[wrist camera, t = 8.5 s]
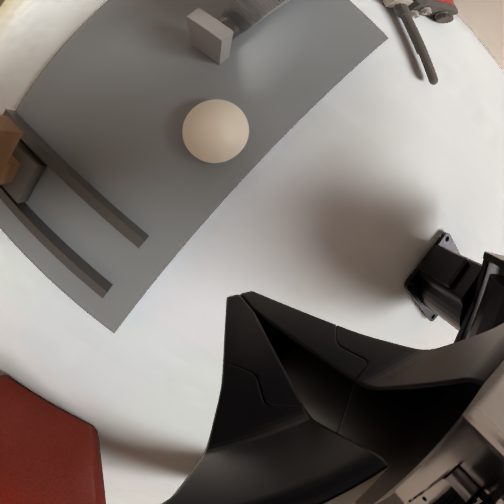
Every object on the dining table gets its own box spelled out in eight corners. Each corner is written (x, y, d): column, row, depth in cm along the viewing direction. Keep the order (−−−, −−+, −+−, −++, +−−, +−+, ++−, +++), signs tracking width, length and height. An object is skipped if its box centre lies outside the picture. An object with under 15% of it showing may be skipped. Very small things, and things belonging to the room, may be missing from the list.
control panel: (375, 46, 16) (416, 21, 11) (121, 319, 20) (98, 363, 14) (227, -62, 12) (233, -102, 6) (-11, 192, 15) (-55, 203, 10)
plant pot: (135, 424, 23) (114, 570, 7) (105, 482, 27) (92, 572, 11) (-17, 335, 18) (-98, 432, 2) (-6, 422, 22) (-43, 498, 6)
